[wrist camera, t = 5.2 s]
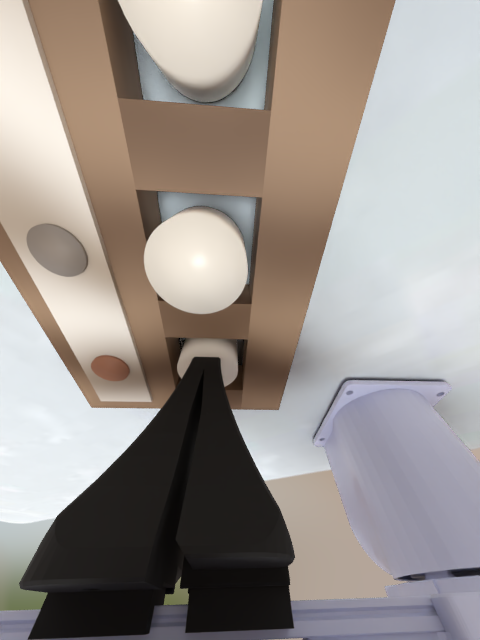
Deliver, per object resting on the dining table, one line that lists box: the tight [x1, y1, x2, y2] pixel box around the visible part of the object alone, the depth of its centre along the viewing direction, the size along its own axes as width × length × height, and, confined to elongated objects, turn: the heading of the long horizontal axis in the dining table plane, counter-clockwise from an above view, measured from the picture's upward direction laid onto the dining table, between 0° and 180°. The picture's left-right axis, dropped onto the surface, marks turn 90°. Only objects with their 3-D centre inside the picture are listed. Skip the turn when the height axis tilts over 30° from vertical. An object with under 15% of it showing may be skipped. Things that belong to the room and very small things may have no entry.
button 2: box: [177, 338, 238, 387], centre depth 12 cm, size 3×3×2 cm
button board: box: [0, 0, 395, 410], centre depth 8 cm, size 20×12×2 cm, turn 177°
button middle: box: [144, 206, 248, 314], centre depth 7 cm, size 3×3×2 cm
